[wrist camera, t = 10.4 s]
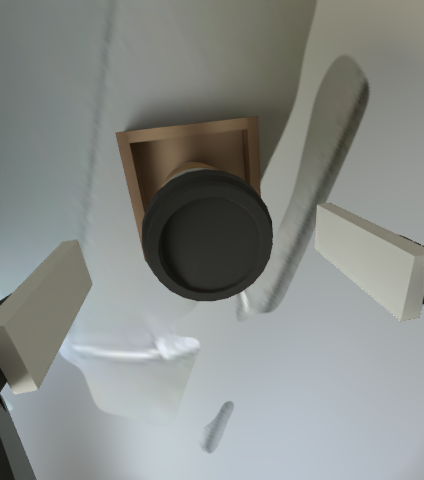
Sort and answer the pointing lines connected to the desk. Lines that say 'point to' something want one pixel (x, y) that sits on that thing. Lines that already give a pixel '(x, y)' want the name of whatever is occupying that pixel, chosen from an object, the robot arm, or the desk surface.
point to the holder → (187, 155)
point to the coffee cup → (206, 233)
